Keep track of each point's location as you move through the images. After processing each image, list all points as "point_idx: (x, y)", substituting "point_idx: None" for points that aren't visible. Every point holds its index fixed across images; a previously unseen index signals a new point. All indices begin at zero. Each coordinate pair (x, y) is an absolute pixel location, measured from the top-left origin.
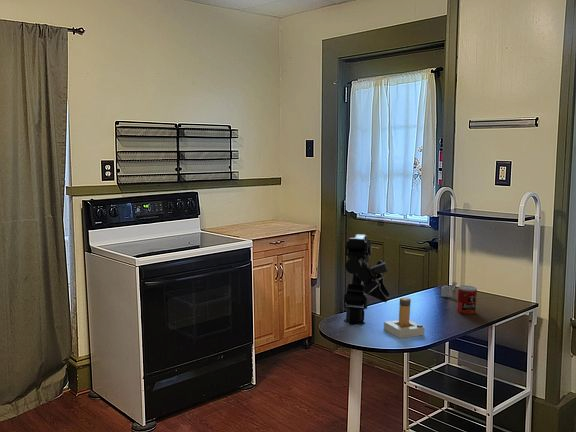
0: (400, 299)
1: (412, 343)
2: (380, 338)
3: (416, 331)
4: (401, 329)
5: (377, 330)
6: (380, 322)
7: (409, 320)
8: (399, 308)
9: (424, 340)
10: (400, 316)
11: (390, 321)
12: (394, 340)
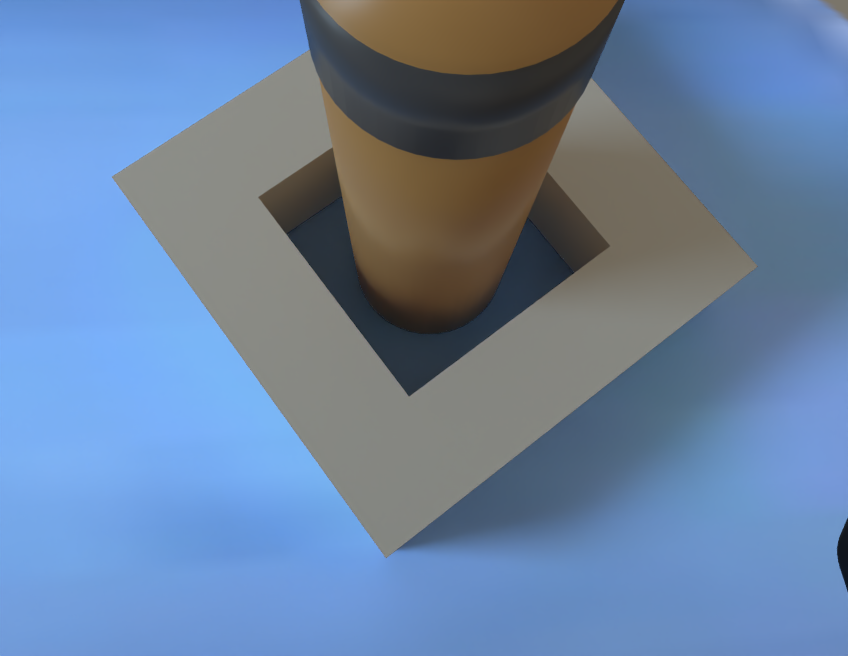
0: (560, 42)
1: (840, 142)
2: (826, 560)
3: None
4: (703, 249)
5: (476, 643)
6: (42, 635)
7: (185, 148)
8: (473, 197)
9: (668, 13)
10: (515, 227)
11: (332, 446)
12: (825, 362)
